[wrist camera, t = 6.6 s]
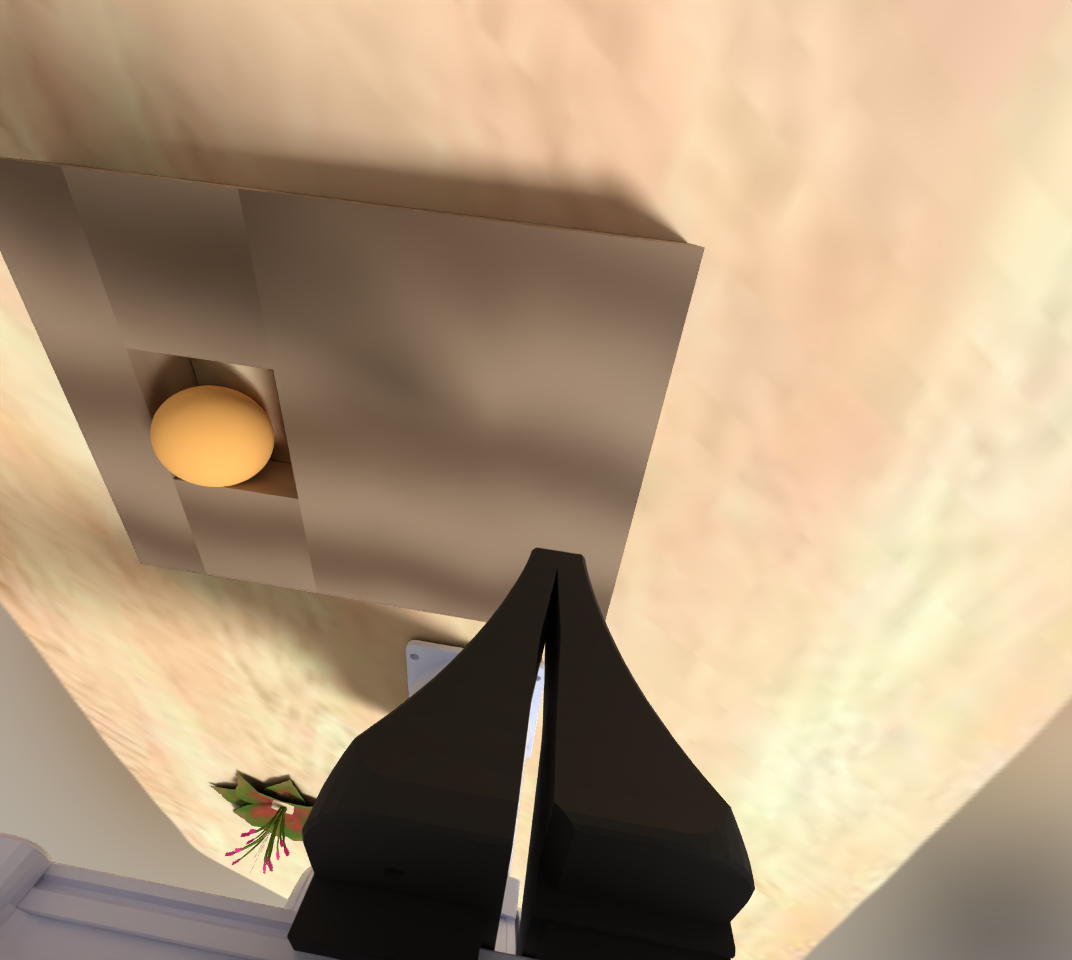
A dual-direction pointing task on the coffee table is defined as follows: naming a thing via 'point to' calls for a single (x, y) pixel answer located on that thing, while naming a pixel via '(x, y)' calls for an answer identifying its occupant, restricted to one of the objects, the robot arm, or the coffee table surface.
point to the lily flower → (267, 815)
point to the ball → (212, 436)
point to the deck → (356, 376)
